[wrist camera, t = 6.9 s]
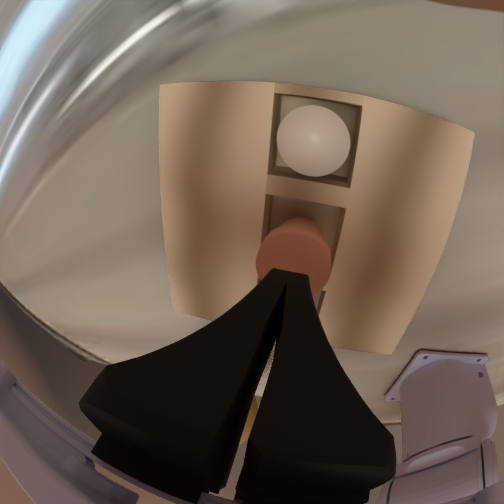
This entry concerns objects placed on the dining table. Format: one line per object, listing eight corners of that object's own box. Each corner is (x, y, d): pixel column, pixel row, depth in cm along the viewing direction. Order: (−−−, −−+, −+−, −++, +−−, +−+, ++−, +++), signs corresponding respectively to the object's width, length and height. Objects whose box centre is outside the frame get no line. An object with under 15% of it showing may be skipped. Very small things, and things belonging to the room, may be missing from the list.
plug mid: (336, 215, 13) (338, 241, 10) (324, 271, 14) (322, 304, 12) (271, 204, 13) (258, 226, 11) (266, 259, 15) (252, 290, 12)
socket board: (451, 127, 11) (474, 132, 9) (386, 326, 19) (391, 355, 16) (186, 86, 14) (159, 84, 12) (189, 286, 22) (173, 309, 19)
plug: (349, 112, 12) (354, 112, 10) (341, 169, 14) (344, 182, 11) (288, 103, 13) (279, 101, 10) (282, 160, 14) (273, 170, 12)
